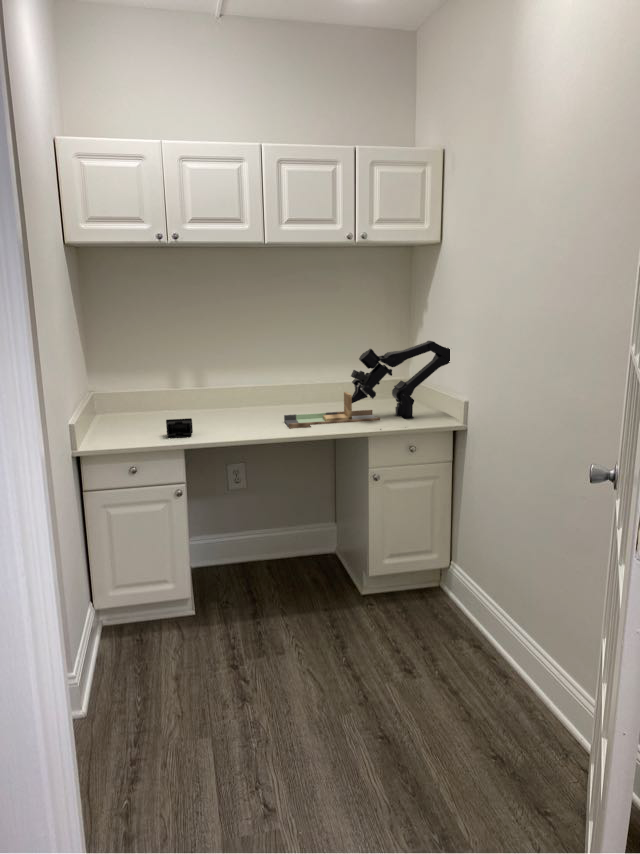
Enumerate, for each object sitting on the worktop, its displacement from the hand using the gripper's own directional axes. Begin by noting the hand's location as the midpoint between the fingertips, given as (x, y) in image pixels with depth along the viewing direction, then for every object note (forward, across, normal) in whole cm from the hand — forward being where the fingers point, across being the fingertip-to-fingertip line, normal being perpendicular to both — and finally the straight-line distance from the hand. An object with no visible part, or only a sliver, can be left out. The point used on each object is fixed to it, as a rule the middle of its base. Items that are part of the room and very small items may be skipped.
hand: (350, 402), depth 282 cm
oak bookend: (+9, 0, +1) cm, 9 cm away
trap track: (+11, 0, 0) cm, 11 cm away
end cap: (+57, +6, -44) cm, 72 cm away
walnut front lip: (+11, +6, 0) cm, 13 cm away
